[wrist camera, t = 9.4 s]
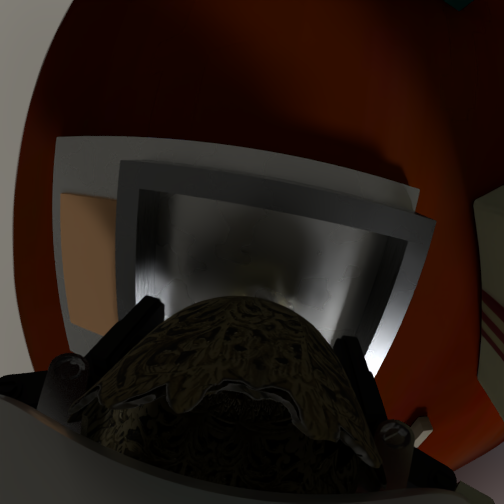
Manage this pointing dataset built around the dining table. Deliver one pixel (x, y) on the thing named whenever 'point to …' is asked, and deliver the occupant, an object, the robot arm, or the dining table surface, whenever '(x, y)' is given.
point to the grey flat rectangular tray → (231, 236)
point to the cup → (234, 401)
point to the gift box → (492, 293)
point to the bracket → (458, 3)
